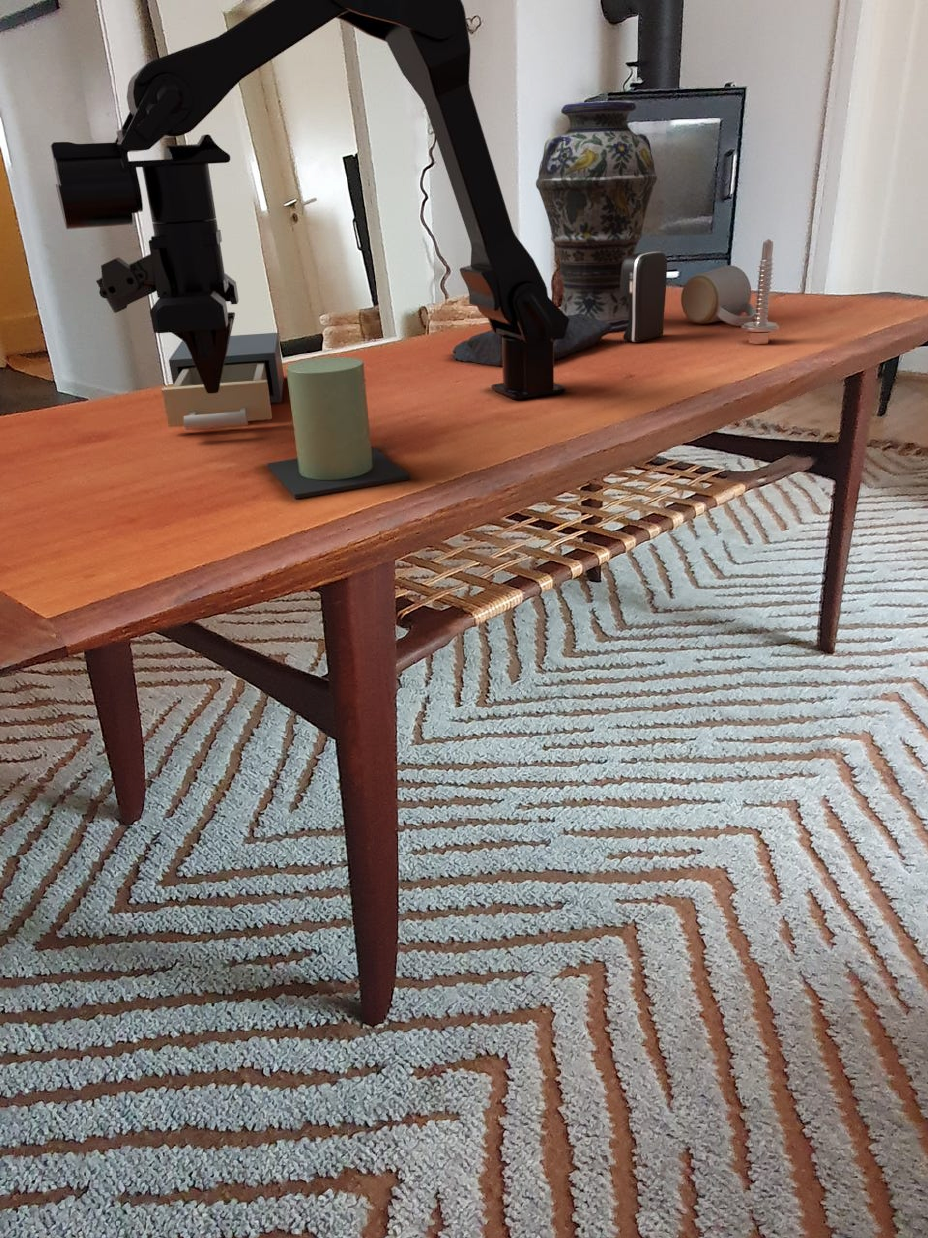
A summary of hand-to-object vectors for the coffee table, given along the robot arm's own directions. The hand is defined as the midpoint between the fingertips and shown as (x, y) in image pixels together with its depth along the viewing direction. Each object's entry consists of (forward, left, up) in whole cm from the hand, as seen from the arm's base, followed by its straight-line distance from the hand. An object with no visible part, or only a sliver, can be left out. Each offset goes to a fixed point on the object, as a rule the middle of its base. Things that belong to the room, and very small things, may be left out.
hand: (213, 392), depth 92 cm
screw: (+8, -74, -5) cm, 75 cm away
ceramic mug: (+24, -80, -5) cm, 84 cm away
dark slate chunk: (+21, -47, -5) cm, 52 cm away
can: (-18, -7, -4) cm, 20 cm away
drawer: (+6, -2, -4) cm, 7 cm away
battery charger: (+20, -63, -5) cm, 66 cm away
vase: (+33, -63, -5) cm, 71 cm away
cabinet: (+20, -5, -4) cm, 21 cm away
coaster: (-18, -7, -4) cm, 20 cm away
